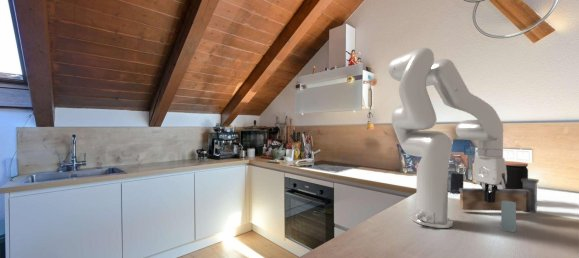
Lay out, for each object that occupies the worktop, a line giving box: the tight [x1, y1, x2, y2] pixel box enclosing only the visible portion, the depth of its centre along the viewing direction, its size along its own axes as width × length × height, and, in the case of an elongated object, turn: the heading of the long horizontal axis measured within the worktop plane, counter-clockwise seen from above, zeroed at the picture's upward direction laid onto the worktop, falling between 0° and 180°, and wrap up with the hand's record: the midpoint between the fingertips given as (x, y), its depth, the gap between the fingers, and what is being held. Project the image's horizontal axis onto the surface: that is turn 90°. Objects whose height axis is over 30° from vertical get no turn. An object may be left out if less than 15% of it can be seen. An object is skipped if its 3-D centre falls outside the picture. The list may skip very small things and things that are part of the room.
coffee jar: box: [498, 160, 529, 189], centre depth 115 cm, size 11×11×18 cm
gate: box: [459, 187, 531, 213], centre depth 98 cm, size 27×2×8 cm, turn 89°
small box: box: [448, 170, 465, 195], centre depth 134 cm, size 11×6×10 cm, turn 168°
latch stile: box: [500, 200, 517, 233], centre depth 81 cm, size 3×3×9 cm
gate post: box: [521, 177, 540, 214], centre depth 100 cm, size 4×4×13 cm
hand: (489, 201), depth 95 cm, fingers closed
